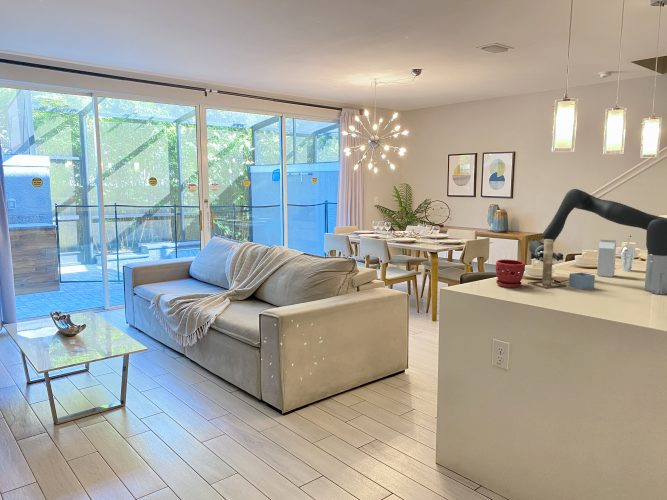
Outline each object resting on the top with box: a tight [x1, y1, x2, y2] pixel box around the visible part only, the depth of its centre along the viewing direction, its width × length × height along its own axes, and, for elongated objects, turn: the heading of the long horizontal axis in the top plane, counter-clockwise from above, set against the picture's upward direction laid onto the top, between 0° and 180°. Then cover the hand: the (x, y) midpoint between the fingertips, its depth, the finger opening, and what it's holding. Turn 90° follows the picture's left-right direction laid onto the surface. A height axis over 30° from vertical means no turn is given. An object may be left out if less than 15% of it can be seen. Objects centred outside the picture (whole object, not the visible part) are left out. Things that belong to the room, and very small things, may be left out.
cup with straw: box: [618, 235, 637, 272], centre depth 274 cm, size 8×9×20 cm
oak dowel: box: [541, 238, 554, 287], centre depth 234 cm, size 4×4×22 cm
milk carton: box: [596, 239, 617, 278], centre depth 260 cm, size 7×7×19 cm
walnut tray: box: [527, 280, 567, 290], centre depth 235 cm, size 12×12×2 cm
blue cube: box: [568, 272, 596, 291], centre depth 229 cm, size 7×7×7 cm
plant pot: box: [495, 259, 526, 289], centre depth 237 cm, size 13×13×12 cm
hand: (548, 258), depth 232 cm, fingers open, 8 cm apart
